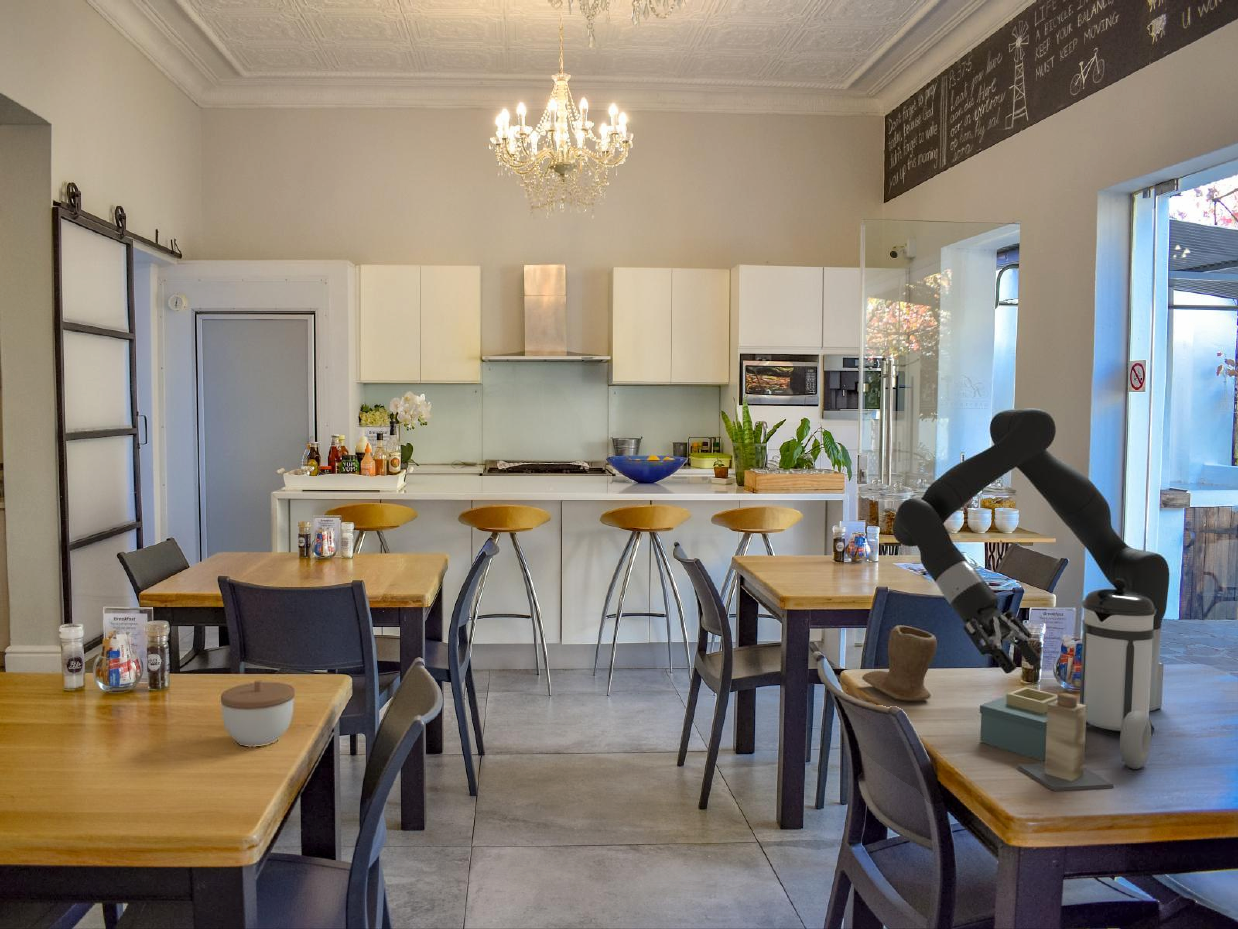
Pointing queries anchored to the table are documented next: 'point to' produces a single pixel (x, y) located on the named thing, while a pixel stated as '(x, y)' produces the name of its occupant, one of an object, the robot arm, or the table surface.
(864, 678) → the brown top hat
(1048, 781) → the rubber mat
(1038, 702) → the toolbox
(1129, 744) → the donut
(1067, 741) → the wooden block
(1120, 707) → the coffee press
